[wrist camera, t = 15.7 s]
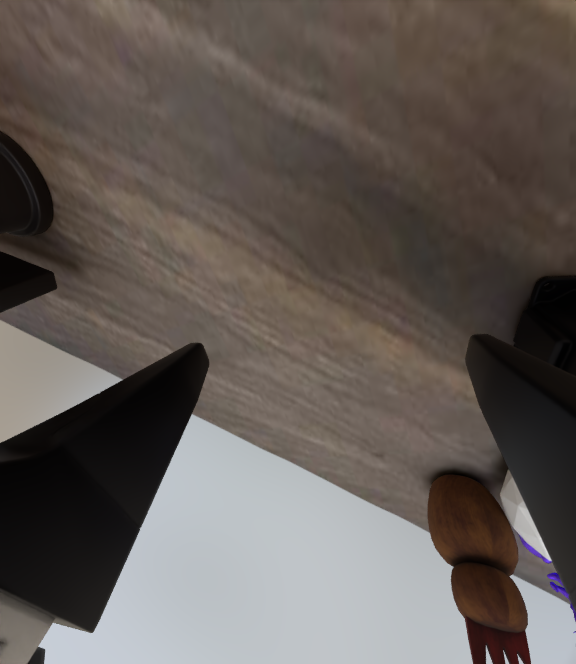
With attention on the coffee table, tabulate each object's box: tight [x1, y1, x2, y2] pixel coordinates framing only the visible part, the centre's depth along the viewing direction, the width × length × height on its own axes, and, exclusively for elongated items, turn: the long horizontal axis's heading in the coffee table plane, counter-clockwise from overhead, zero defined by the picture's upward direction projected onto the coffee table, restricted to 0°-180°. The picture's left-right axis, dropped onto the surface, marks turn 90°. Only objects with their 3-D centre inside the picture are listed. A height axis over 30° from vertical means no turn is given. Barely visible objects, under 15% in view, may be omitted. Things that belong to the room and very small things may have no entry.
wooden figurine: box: [428, 475, 531, 664], centre depth 23 cm, size 7×6×15 cm
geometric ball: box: [500, 469, 552, 561], centre depth 22 cm, size 8×8×8 cm
